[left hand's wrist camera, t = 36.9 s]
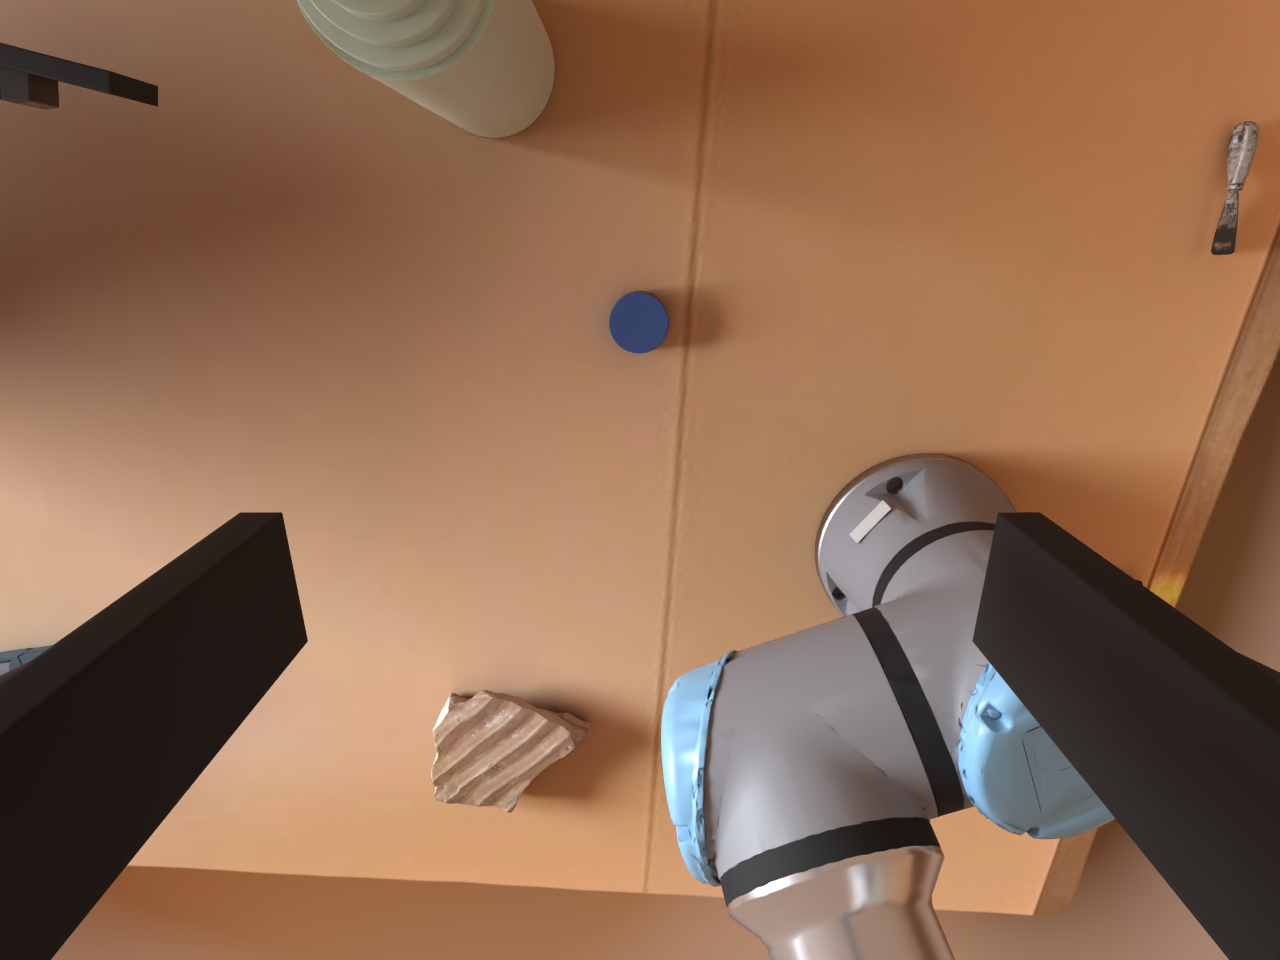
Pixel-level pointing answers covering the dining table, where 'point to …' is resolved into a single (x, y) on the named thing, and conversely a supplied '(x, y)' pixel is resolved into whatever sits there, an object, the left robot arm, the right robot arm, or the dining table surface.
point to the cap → (638, 322)
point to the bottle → (447, 55)
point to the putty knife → (1235, 184)
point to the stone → (497, 748)
